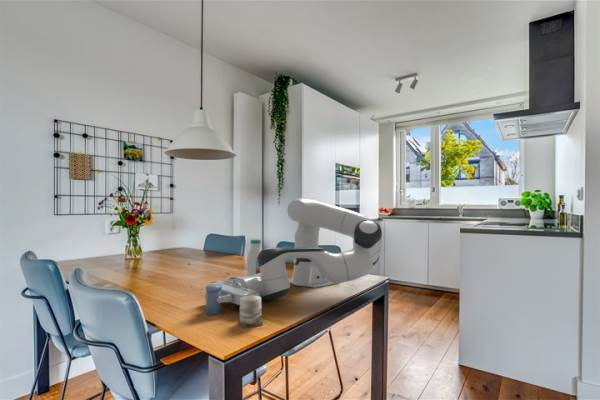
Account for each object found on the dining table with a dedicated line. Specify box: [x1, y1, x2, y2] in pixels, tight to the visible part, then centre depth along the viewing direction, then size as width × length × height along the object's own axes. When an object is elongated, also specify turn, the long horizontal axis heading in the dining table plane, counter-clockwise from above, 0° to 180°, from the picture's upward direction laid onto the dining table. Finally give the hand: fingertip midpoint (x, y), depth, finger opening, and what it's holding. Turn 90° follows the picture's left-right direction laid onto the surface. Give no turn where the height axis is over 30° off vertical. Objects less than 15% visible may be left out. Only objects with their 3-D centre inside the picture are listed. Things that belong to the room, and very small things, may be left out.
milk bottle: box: [246, 238, 262, 276], centre depth 140 cm, size 8×8×20 cm
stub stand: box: [238, 295, 264, 329], centre depth 93 cm, size 7×7×7 cm
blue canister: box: [205, 283, 222, 316], centre depth 102 cm, size 5×5×9 cm
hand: (211, 298), depth 101 cm, fingers closed on blue canister, 5 cm apart
